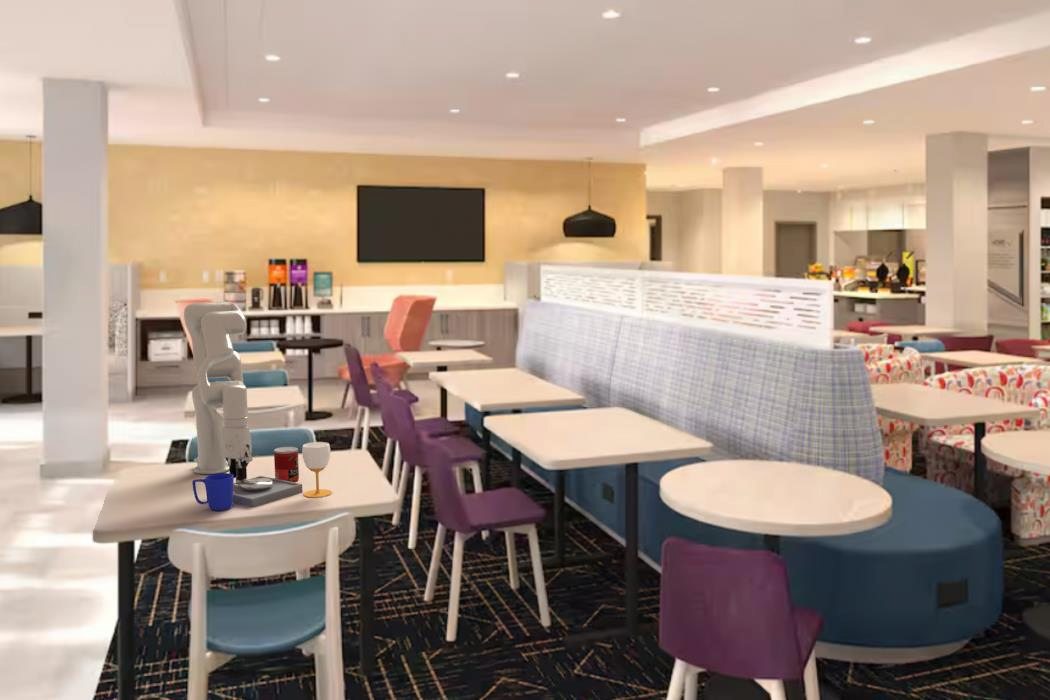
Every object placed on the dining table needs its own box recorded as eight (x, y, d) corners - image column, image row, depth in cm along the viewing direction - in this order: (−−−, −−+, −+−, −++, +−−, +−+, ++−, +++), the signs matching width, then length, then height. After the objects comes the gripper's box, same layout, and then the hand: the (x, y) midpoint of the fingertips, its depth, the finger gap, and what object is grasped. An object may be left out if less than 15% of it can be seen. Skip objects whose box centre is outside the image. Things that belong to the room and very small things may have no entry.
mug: (197, 505, 272) (196, 473, 271) (237, 504, 273) (236, 472, 272) (190, 513, 264) (188, 480, 263) (231, 512, 265) (229, 479, 264)
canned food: (293, 484, 296) (291, 452, 295) (271, 483, 298) (269, 451, 296) (303, 478, 303) (301, 447, 302) (281, 477, 305) (280, 446, 304)
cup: (307, 499, 278) (305, 449, 276) (300, 492, 286) (298, 443, 284) (335, 495, 282) (333, 446, 280) (328, 488, 290) (326, 440, 288)
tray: (210, 497, 281) (210, 489, 281) (260, 483, 297) (260, 475, 297) (252, 507, 270) (252, 498, 270) (302, 491, 287) (302, 484, 286)
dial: (279, 484, 285) (278, 462, 284) (254, 491, 276) (253, 469, 276) (249, 478, 292) (248, 457, 292) (225, 485, 284) (224, 463, 283)
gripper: (209, 422, 285) (212, 477, 288) (243, 427, 277) (246, 484, 279) (228, 418, 292) (231, 472, 294) (262, 423, 283) (264, 479, 285)
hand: (238, 478), depth 286 cm, fingers closed on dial, 3 cm apart
